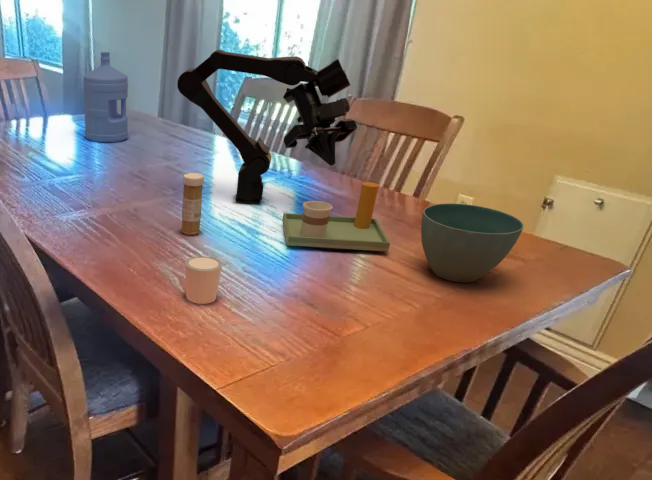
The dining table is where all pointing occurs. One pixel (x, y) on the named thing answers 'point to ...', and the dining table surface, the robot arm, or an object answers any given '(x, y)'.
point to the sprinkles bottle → (192, 203)
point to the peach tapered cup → (202, 279)
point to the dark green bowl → (466, 239)
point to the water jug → (105, 103)
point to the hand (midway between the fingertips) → (332, 164)
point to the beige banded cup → (315, 219)
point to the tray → (344, 227)
